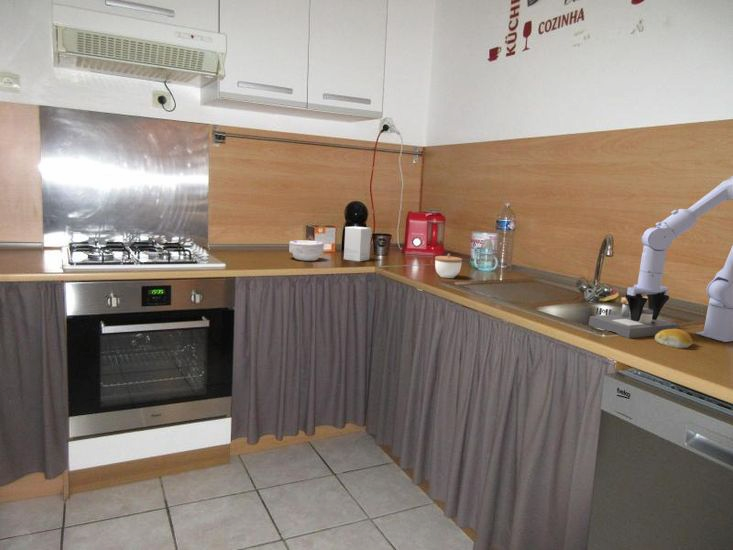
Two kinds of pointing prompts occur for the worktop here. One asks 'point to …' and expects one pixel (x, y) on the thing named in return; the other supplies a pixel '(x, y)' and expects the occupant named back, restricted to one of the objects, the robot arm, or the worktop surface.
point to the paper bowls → (306, 249)
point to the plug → (646, 316)
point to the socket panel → (629, 324)
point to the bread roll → (674, 338)
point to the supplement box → (357, 243)
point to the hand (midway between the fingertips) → (643, 319)
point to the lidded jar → (447, 266)
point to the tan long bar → (624, 300)
